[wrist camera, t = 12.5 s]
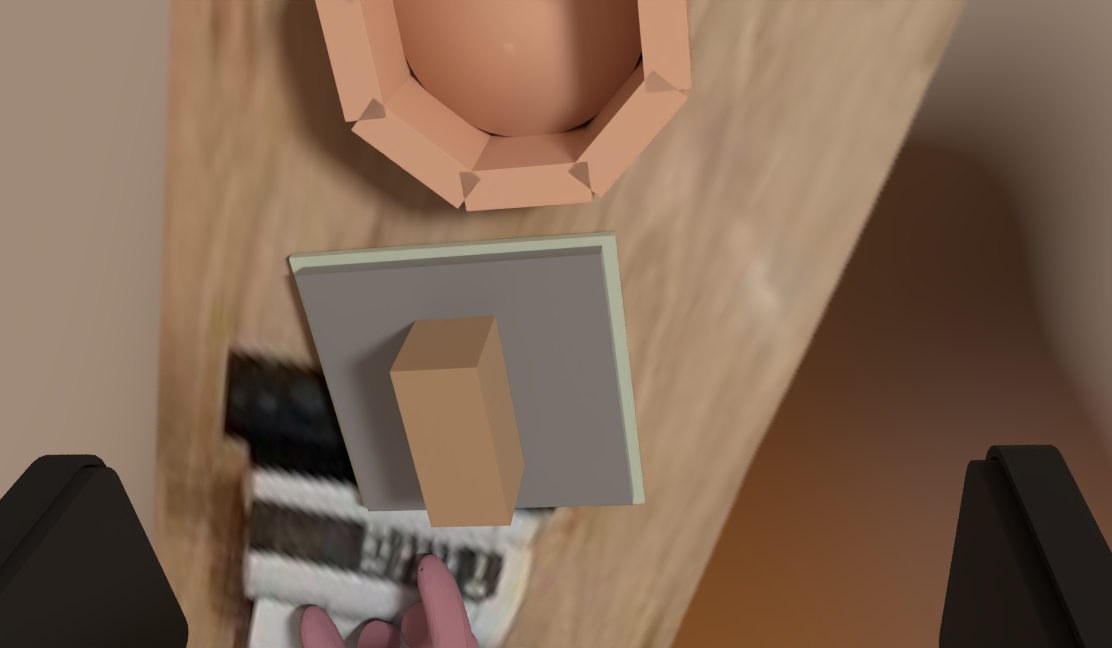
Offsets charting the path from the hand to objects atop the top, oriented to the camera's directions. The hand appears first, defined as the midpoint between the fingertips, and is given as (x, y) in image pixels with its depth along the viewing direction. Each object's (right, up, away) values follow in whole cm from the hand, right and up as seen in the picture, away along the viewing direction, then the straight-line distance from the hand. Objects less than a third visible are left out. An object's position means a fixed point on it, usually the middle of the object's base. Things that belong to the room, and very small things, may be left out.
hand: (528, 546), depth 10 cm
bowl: (-1, +14, +24) cm, 27 cm away
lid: (-3, 0, +32) cm, 32 cm away
